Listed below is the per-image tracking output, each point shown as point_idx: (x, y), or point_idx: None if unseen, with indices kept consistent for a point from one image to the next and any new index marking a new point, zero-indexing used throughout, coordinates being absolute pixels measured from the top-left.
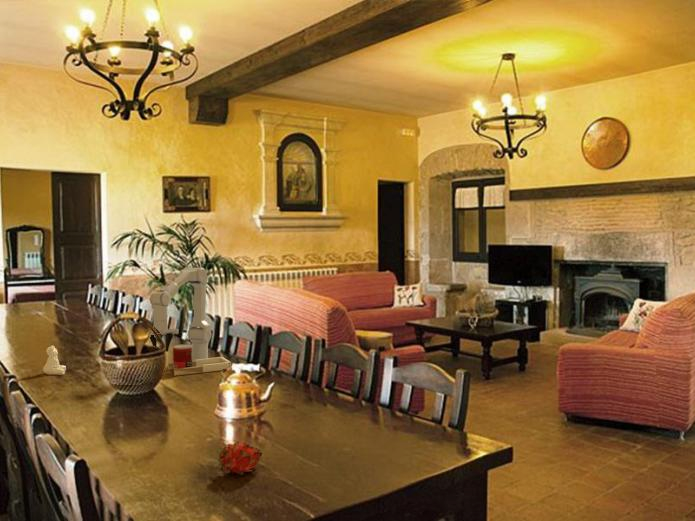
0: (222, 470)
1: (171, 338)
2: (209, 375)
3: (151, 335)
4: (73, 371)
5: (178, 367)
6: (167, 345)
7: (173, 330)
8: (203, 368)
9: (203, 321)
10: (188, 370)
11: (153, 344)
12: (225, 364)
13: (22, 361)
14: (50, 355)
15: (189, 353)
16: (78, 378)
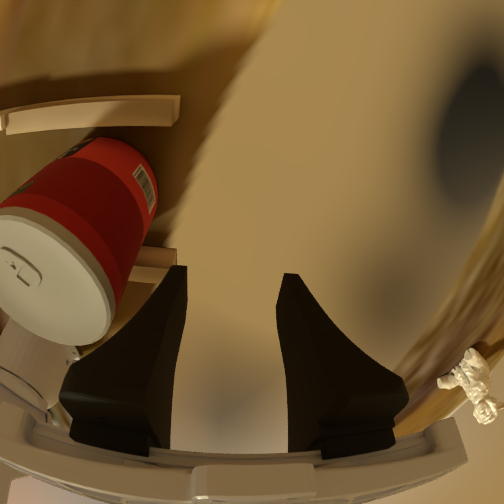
0: None
1: (92, 357)
2: (18, 24)
3: (376, 442)
4: (438, 366)
5: (129, 160)
6: (167, 304)
7: (40, 465)
8: (9, 110)
9: None
10: (84, 101)
11: (342, 333)
12: None
13: (420, 431)
14: (491, 396)
15: (12, 193)
16: (487, 296)
